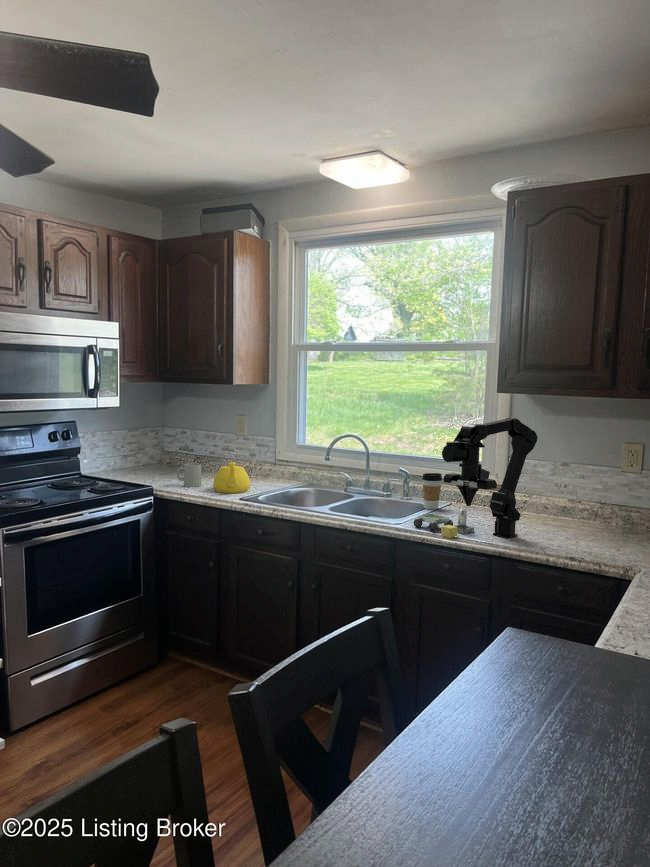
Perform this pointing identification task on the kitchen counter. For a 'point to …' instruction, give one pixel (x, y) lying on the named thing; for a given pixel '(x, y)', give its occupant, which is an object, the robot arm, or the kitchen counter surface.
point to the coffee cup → (431, 489)
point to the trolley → (432, 521)
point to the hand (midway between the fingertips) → (468, 505)
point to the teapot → (231, 479)
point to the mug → (191, 474)
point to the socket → (465, 529)
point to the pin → (462, 518)
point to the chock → (449, 531)
